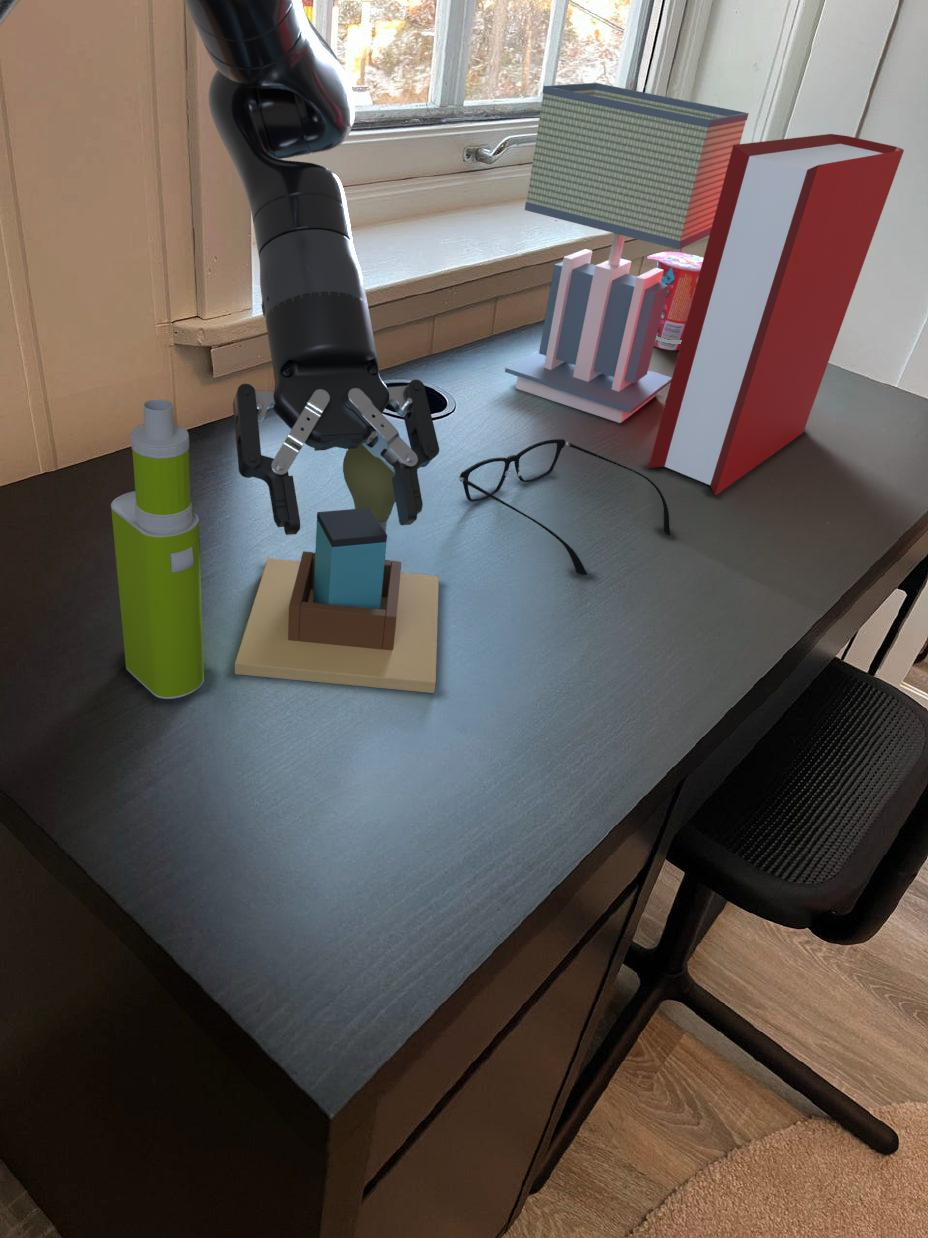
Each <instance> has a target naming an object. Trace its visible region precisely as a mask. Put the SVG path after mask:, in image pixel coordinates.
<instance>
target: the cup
mask: <svg viewBox="0 0 928 1238" xmlns="http://www.w3.org/2000/svg"><path fill="white" fill-rule="evenodd" d="M646 258H647V259H648V260H649V259H650V260H654V261H656V268H659V269H662V270H664V271H663V275H662V279H661V283H662V284H666V285H669V286H668V290H667V294H666V299H665V303H664V307H663V311H662V315H661V319H660V323H659V327H658V331H657V335H656V336H658V337H660V338H664V339H667V340H682V338H683V334H684V330H685V326H686V323H687V319H688V315H689V311H690V308H691V304H692V300H693V296H694V292H695V289H696V285H697V281H698V277H699V273H700V270H701V266H702V262H703V258H704V257H703V256H699V255H695V254H691V253H686V252H680V251H679V252H678V251H660V252H657V253H652V254H649V255H648V256H646ZM680 345H681V344H671V343H665V342H661V341H658V340H656V339H655V344H654V347H655V348H658V349H662V350H667V351H679V349H680Z"/></svg>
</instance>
